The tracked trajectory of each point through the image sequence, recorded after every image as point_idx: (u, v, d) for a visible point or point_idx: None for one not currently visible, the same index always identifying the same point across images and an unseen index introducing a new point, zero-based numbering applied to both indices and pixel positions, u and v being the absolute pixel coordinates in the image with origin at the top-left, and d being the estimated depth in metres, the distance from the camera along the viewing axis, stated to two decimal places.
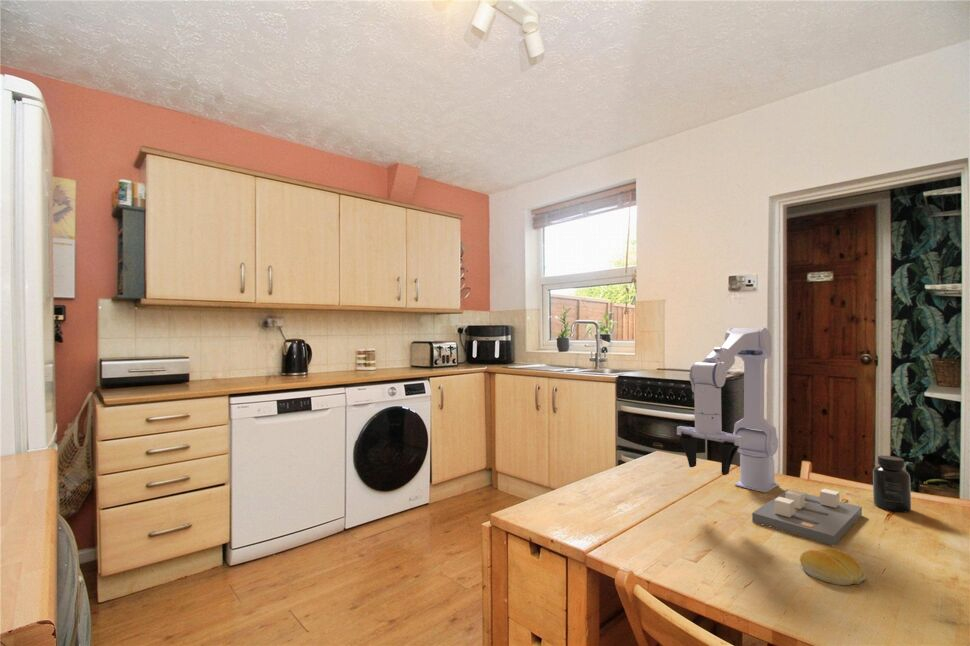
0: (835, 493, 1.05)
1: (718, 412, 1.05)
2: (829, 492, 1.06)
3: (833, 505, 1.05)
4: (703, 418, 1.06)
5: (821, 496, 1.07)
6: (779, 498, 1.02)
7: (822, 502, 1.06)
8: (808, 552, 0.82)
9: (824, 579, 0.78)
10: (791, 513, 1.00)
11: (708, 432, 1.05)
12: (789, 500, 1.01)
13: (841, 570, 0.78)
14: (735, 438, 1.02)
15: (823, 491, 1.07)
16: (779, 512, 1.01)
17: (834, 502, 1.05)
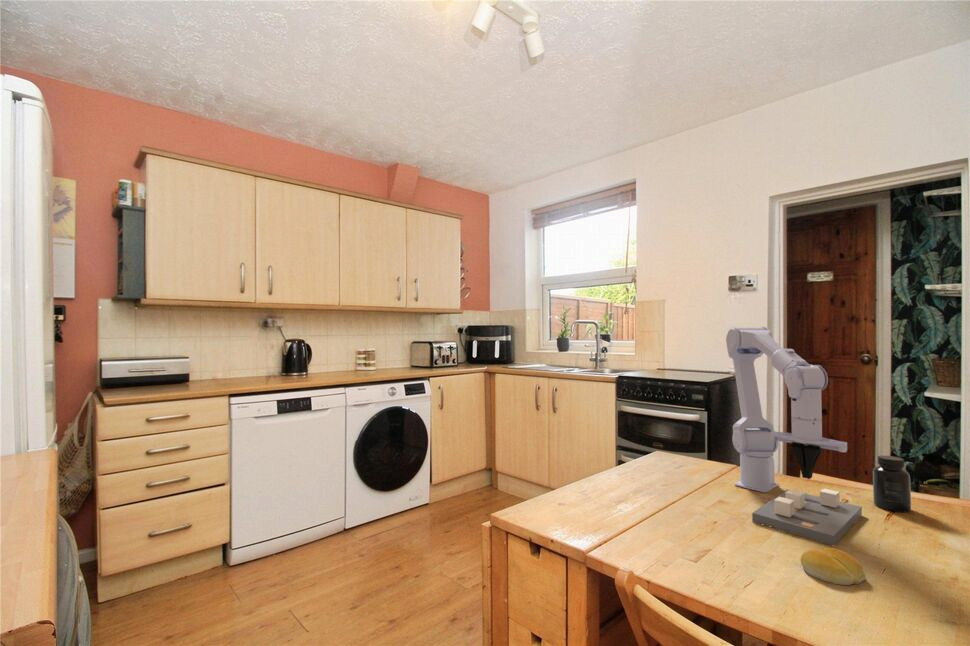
0: (835, 493, 1.05)
1: None
2: (829, 492, 1.06)
3: (833, 505, 1.05)
4: (803, 424, 1.02)
5: (821, 496, 1.07)
6: (779, 498, 1.02)
7: (822, 502, 1.06)
8: (808, 552, 0.82)
9: (825, 579, 0.78)
10: (791, 513, 1.00)
11: (809, 438, 1.02)
12: (789, 500, 1.01)
13: (842, 570, 0.78)
14: (840, 444, 0.99)
15: (823, 491, 1.07)
16: (779, 512, 1.01)
17: (834, 502, 1.05)
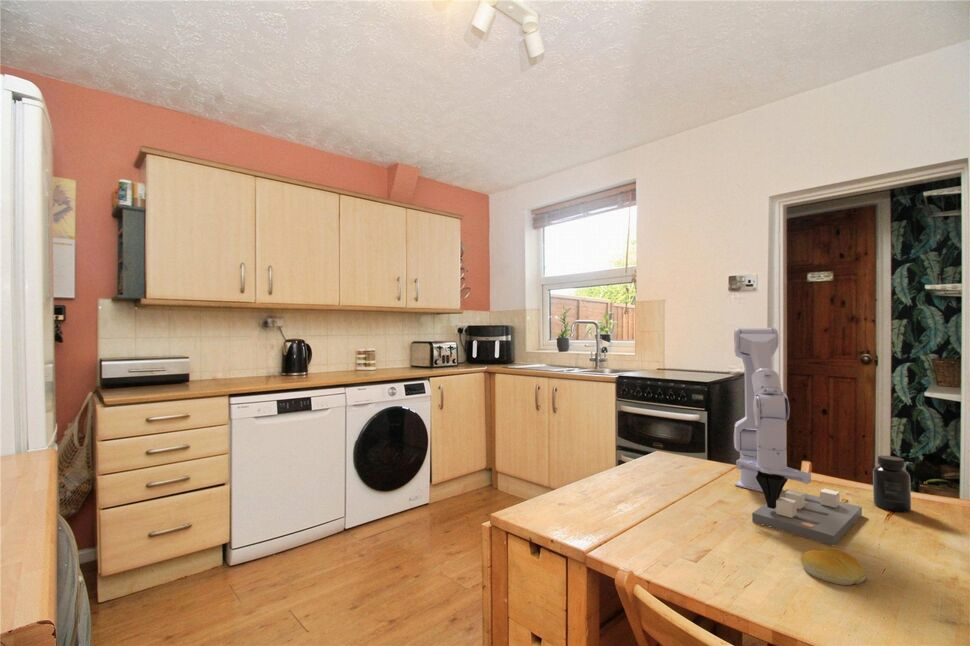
0: (835, 493, 1.05)
1: None
2: (829, 492, 1.06)
3: (833, 505, 1.05)
4: (768, 453, 1.02)
5: (821, 496, 1.07)
6: (781, 498, 1.02)
7: (822, 502, 1.06)
8: (809, 552, 0.82)
9: (825, 579, 0.78)
10: (793, 514, 1.00)
11: (773, 468, 1.01)
12: (791, 500, 1.01)
13: (843, 570, 0.78)
14: (803, 476, 0.98)
15: (823, 491, 1.07)
16: (781, 513, 1.01)
17: (834, 502, 1.05)
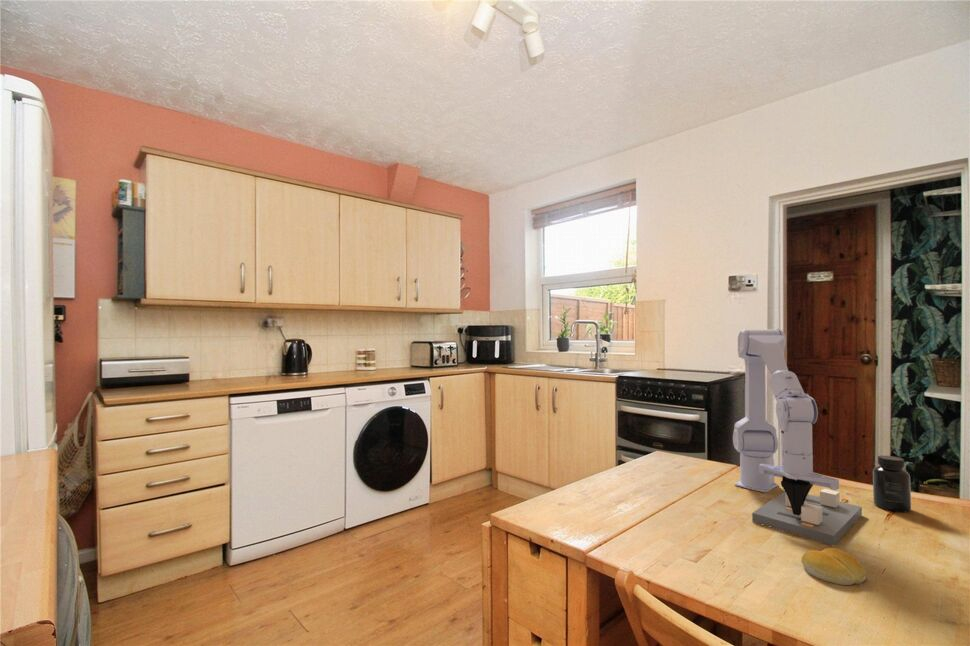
0: (835, 493, 1.05)
1: None
2: (829, 492, 1.06)
3: (833, 505, 1.05)
4: (793, 458, 0.98)
5: (821, 496, 1.07)
6: (806, 505, 0.99)
7: (822, 502, 1.06)
8: (810, 552, 0.82)
9: (826, 579, 0.78)
10: (819, 521, 0.96)
11: (799, 474, 0.97)
12: (817, 507, 0.97)
13: (843, 570, 0.78)
14: (831, 482, 0.94)
15: (823, 491, 1.07)
16: (806, 519, 0.97)
17: (834, 502, 1.05)
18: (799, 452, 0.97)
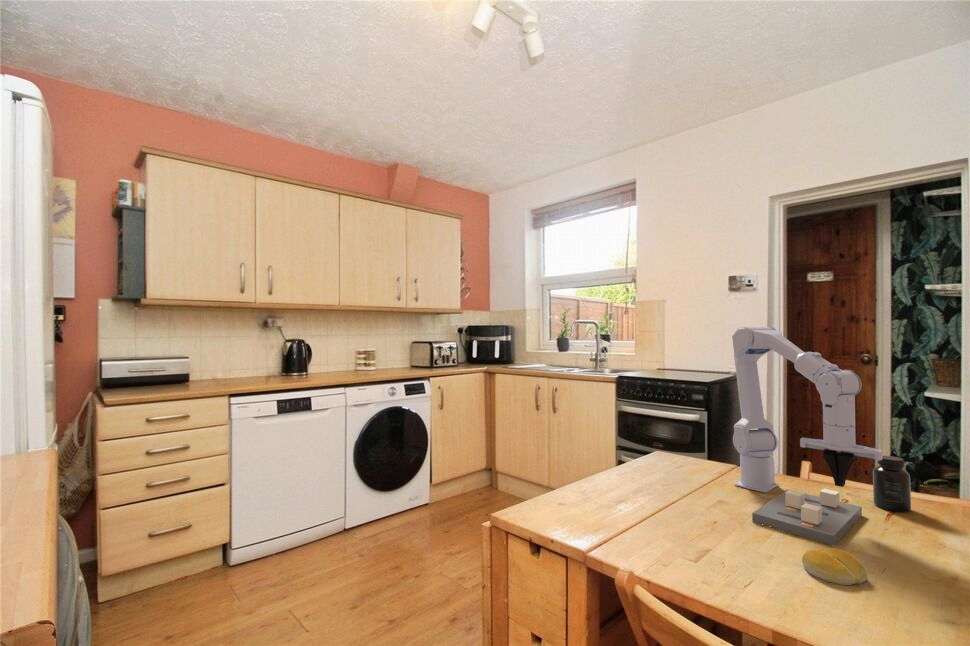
0: (835, 493, 1.05)
1: None
2: (829, 492, 1.06)
3: (833, 505, 1.05)
4: (836, 430, 1.00)
5: (821, 496, 1.07)
6: (806, 505, 0.99)
7: (822, 502, 1.06)
8: (810, 552, 0.82)
9: (826, 579, 0.78)
10: (819, 520, 0.96)
11: (843, 445, 0.99)
12: (816, 507, 0.97)
13: (844, 570, 0.78)
14: (875, 452, 0.96)
15: (823, 491, 1.07)
16: (806, 519, 0.97)
17: (834, 502, 1.05)
18: (849, 424, 0.99)
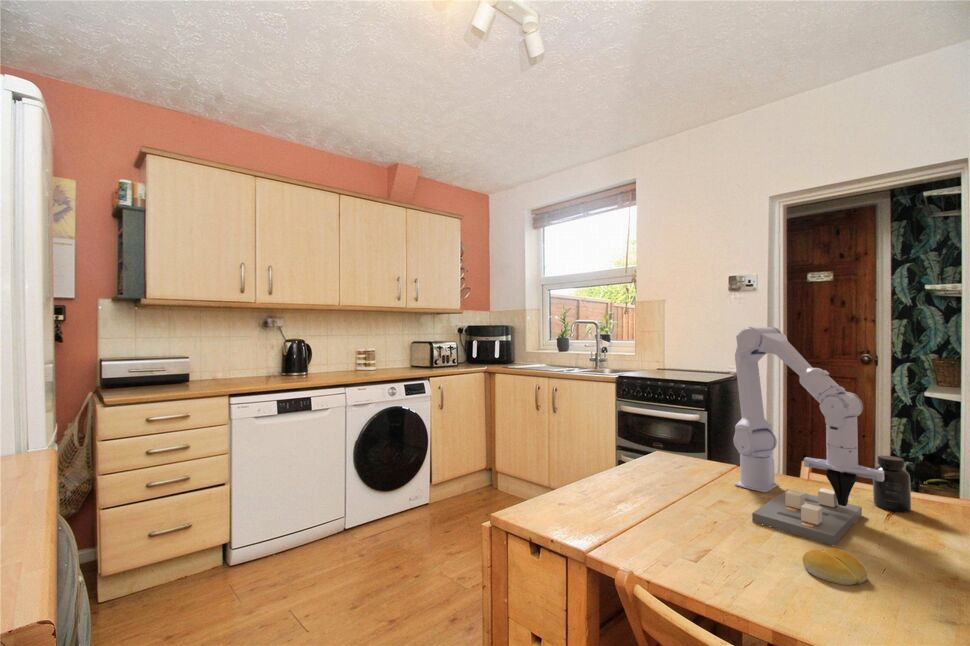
0: (833, 493, 1.06)
1: None
2: (827, 492, 1.06)
3: (831, 505, 1.05)
4: (839, 452, 1.03)
5: (819, 496, 1.07)
6: (806, 505, 0.99)
7: (820, 502, 1.07)
8: (811, 552, 0.82)
9: (827, 579, 0.78)
10: (819, 520, 0.96)
11: (846, 466, 1.02)
12: (816, 507, 0.97)
13: (844, 570, 0.78)
14: (878, 473, 0.99)
15: (821, 491, 1.07)
16: (806, 519, 0.97)
17: (832, 502, 1.05)
18: (853, 446, 1.02)
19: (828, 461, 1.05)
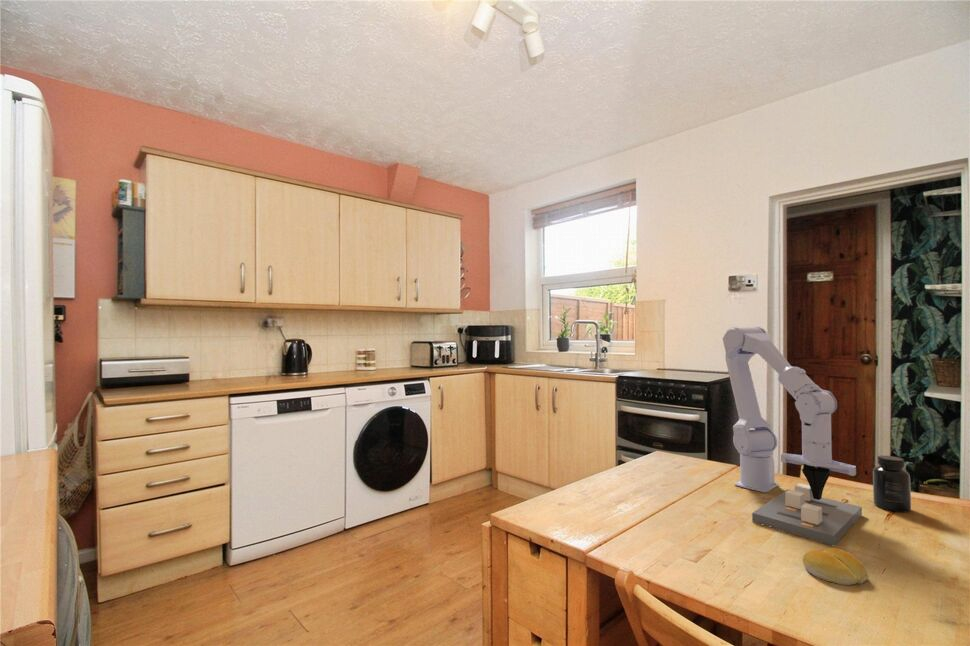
0: (809, 487, 1.09)
1: None
2: (803, 487, 1.10)
3: (807, 499, 1.09)
4: (814, 447, 1.07)
5: (796, 490, 1.11)
6: (806, 505, 0.99)
7: None
8: (811, 552, 0.82)
9: (827, 579, 0.78)
10: (819, 520, 0.96)
11: (820, 461, 1.06)
12: (816, 507, 0.97)
13: (844, 570, 0.78)
14: (849, 468, 1.03)
15: (798, 485, 1.11)
16: (806, 519, 0.97)
17: (808, 496, 1.09)
18: (826, 442, 1.06)
19: (803, 456, 1.09)
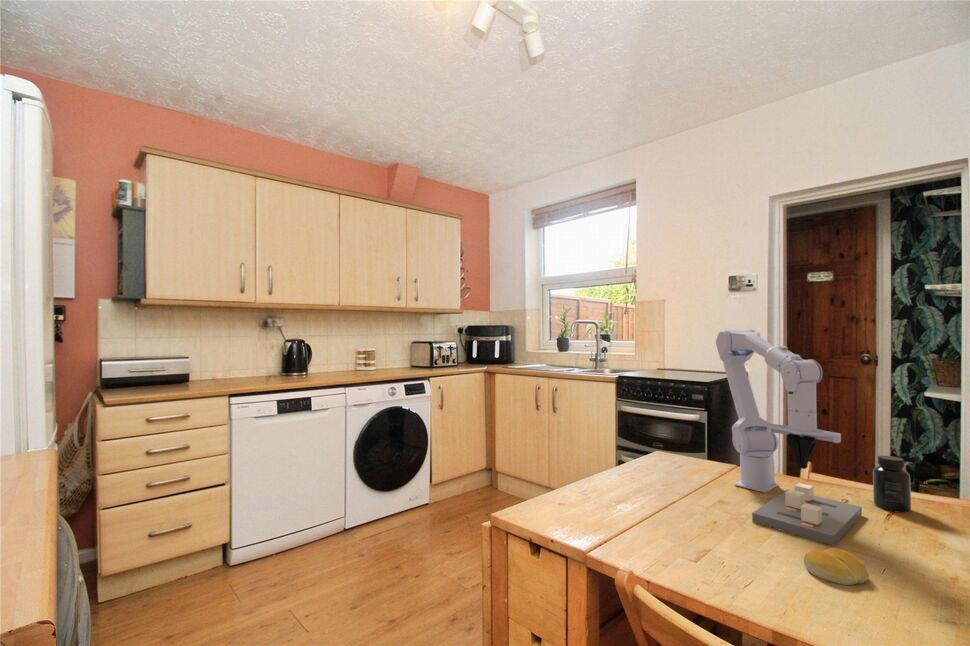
0: (809, 487, 1.09)
1: None
2: (803, 487, 1.10)
3: (807, 499, 1.09)
4: (799, 416, 1.06)
5: (796, 490, 1.11)
6: (806, 505, 0.99)
7: None
8: (812, 552, 0.82)
9: (828, 579, 0.78)
10: (819, 520, 0.96)
11: (805, 430, 1.06)
12: (816, 507, 0.97)
13: (845, 570, 0.78)
14: (834, 435, 1.03)
15: (798, 485, 1.11)
16: (806, 519, 0.97)
17: (808, 496, 1.09)
18: (808, 410, 1.06)
19: (789, 425, 1.09)
